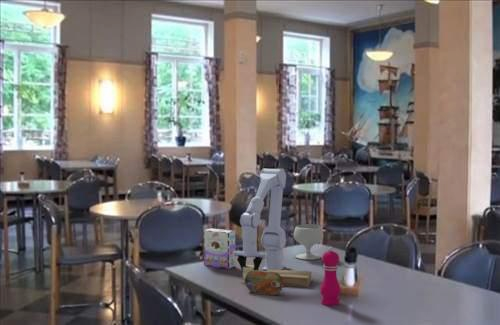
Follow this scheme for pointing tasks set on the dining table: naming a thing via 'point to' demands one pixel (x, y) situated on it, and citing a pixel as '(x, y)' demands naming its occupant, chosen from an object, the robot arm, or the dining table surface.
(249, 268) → the birch cube
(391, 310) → the dining table surface
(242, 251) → the robot arm
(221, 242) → the candy box
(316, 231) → the chalice
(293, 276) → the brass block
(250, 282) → the tin
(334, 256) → the pepper mill
